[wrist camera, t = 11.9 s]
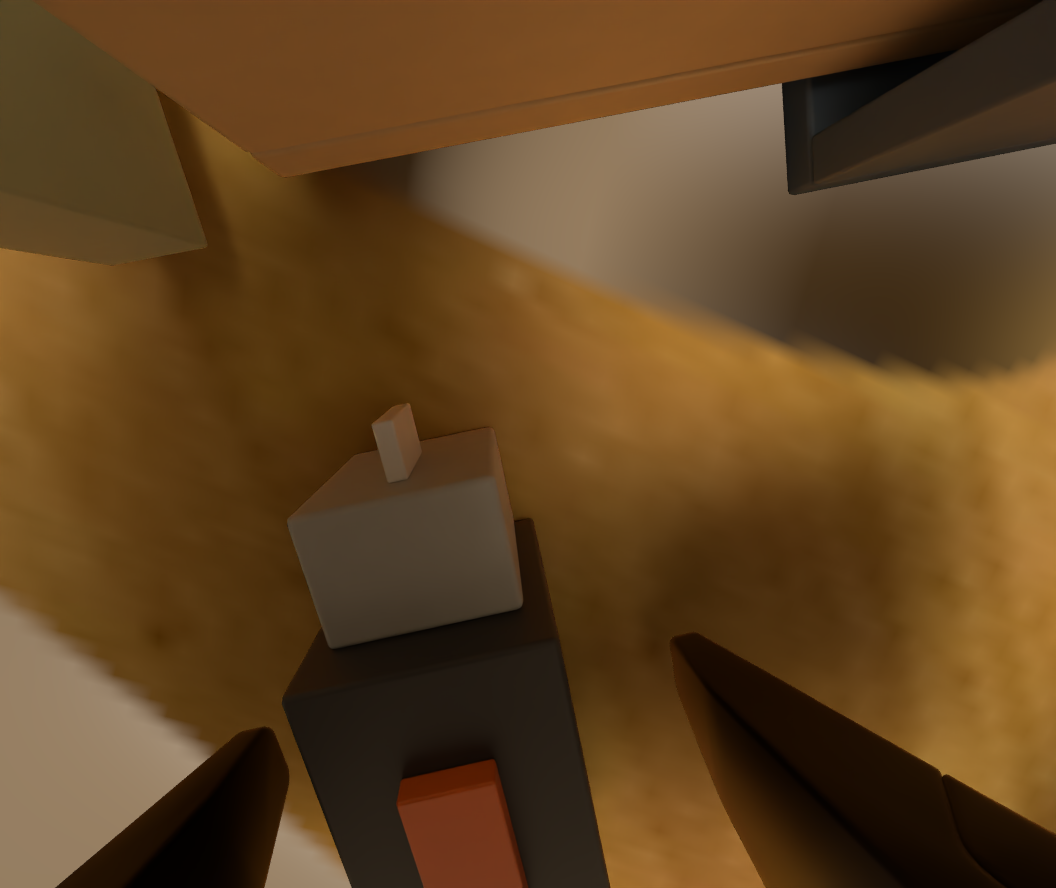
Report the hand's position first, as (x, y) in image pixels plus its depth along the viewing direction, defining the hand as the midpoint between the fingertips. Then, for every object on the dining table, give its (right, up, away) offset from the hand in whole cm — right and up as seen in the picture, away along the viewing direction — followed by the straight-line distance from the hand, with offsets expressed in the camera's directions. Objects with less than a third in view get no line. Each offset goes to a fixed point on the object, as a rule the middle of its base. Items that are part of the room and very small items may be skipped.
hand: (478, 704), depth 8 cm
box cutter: (0, 0, +1) cm, 1 cm away
